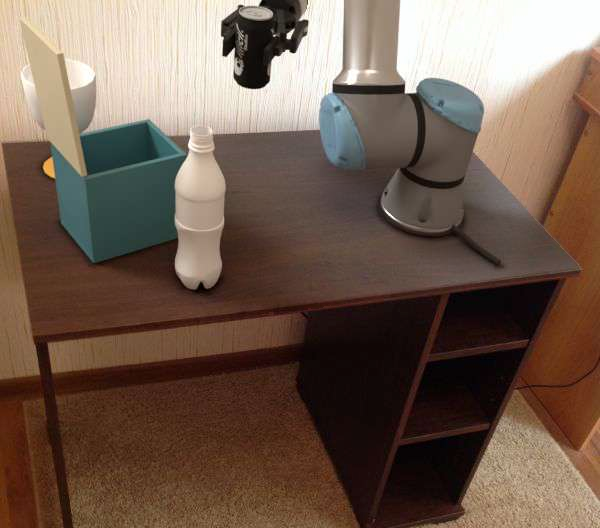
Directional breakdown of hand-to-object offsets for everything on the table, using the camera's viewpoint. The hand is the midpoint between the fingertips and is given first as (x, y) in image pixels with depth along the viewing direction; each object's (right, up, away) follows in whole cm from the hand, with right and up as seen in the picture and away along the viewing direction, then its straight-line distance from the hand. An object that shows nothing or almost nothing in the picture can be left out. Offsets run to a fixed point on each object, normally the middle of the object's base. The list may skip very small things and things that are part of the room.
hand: (245, 53), depth 127 cm
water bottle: (-7, -40, -9) cm, 41 cm away
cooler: (-20, -30, -2) cm, 36 cm away
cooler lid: (-24, -17, -24) cm, 38 cm away
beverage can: (0, -1, +9) cm, 9 cm away
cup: (-32, -17, +8) cm, 37 cm away
